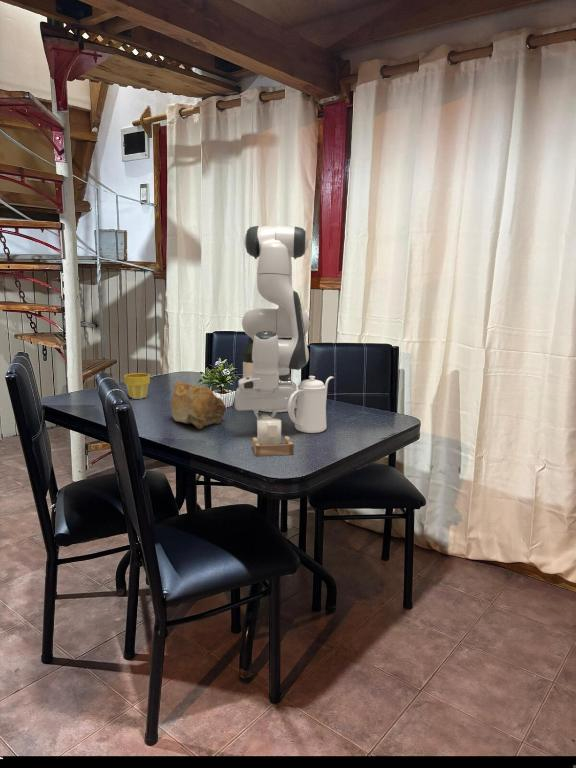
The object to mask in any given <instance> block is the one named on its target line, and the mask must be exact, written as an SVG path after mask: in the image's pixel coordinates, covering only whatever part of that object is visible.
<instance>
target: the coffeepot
mask: <svg viewBox="0 0 576 768" xmlns="http://www.w3.org/2000/svg"><path fill="white" fill-rule="evenodd" d="M334 378H335V377H334V376H331V375H330V376H329V377H328V378H327V379H326V380H325V383H324V382H323V381H322V380H319V379H316V376H314V375H309V376H308V379H303V380H301V381H300V382H299V384H298V385H297V388H298V389H296V391H295V392H294V393H293V394H292V395H291V396H290V398H289V401H288V411H287V412H288V416H289V419H290V420H291V421H292V422H293V423H294V428H295V429H296V431H298V432H302V433H305V434H318V433H322V432H324V431H326V430H327V409H326V408H327V395H328V385H329V382H330V380H331V379H334ZM294 395H295V397H294ZM293 397H294V399H293ZM292 399H293V400H292ZM295 400H296V404H297V408H296V411H295V409H294V404H295ZM291 402H292V403H291ZM295 412H296V413H295Z"/></svg>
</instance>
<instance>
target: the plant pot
mask: <svg viewBox="0 0 576 768" xmlns="http://www.w3.org/2000/svg"><path fill="white" fill-rule="evenodd" d="M123 379H124V384H125V385H126V389H127V393H128V397H129V396H130V397H132V398H141V397H146V398H147V395H148V390H149V384H150V383H151V375H150V373H143V372H137V373H134V372H133V373H126V374H125V375H124V377H123ZM130 397H129V398H130Z"/></svg>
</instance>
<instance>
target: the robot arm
mask: <svg viewBox="0 0 576 768" xmlns="http://www.w3.org/2000/svg"><path fill="white" fill-rule="evenodd" d="M243 241H244V248H245V251H246V253H247V254H248V255H249V257H250V256H251V257H253V258H254V260H257V259H258V262H257V268H256V269H257V272H256V286H257V287H256V288H257V291H258V294H260V296H261V297H262V298H263V299H264V300H266V301H268V302H269V303H271V304H274V305H277V307H278V308H256V309H250V310H247V311H246V312H245V313H244V315H243V316H242V319H241V326H242V329H243V331H244V333H245V334H246V335H247V337H248V338H249V337H251V338H252V339H253V347H252V361H253V370H252V375H251V376H248V377H245V378H243V377H242V378H239V379H238V381H237V382H238V383H237V384H238V387H237V388H236V390H235V395H234V401H233V402H234V403H233V404H234V409H236V411H239V412H240V411H253V413H254V415H255V417H256V421H257V420H259V419H262V417H261V416H259V415H258V414H259V411H261V412H266V413H267V412H268V413H271V415H269V416H270V417H271V418H274V417H276V415H277V413H284V412H288V401H289V398H290V396H291V395H292V394H293V393H294V392H295V391H297V383H295V382H293V381H292V379H291V373H290V371H291V370H297V371H300V370H302V369H303V368H305V366H306V365H308V361H309V359H310V352H309V348H308V344H307V340H306V338H307V337H306V334H307V333H308V331H309V330H310V325H311V324H310V322H311V320H310V318H309V315H308V314H307V312H306V311H304V310H303V309H302V303H301V299H300V298H301V297H300V295H299V293H298V292H297V291H296V290H294V289H293V284H292V283H293V273H292V272H293V263H292V258H293V259H294V260H297V259H298V258H302V257H303V256H304V255H305V254H306V251H307V249H308V247H309V238H308V234H307V231H306V230H305V229H304V228H302V227H300V226H299V227H298V226H294V227H293V226H288V225H280V224H279V225H278V224H277V225H264V226H259V225H255V226H250V227H249V228H248V229H247V230H246V233H245V236H244V240H243ZM279 338H280V339H279ZM282 338H283V339H282ZM284 338H285V339H284ZM294 397H295V395H294ZM294 397H293V399H294ZM293 399H292V400H293ZM291 403H292V402H291ZM295 409H297V399H296V400H295V404H294V410H295Z"/></svg>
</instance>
